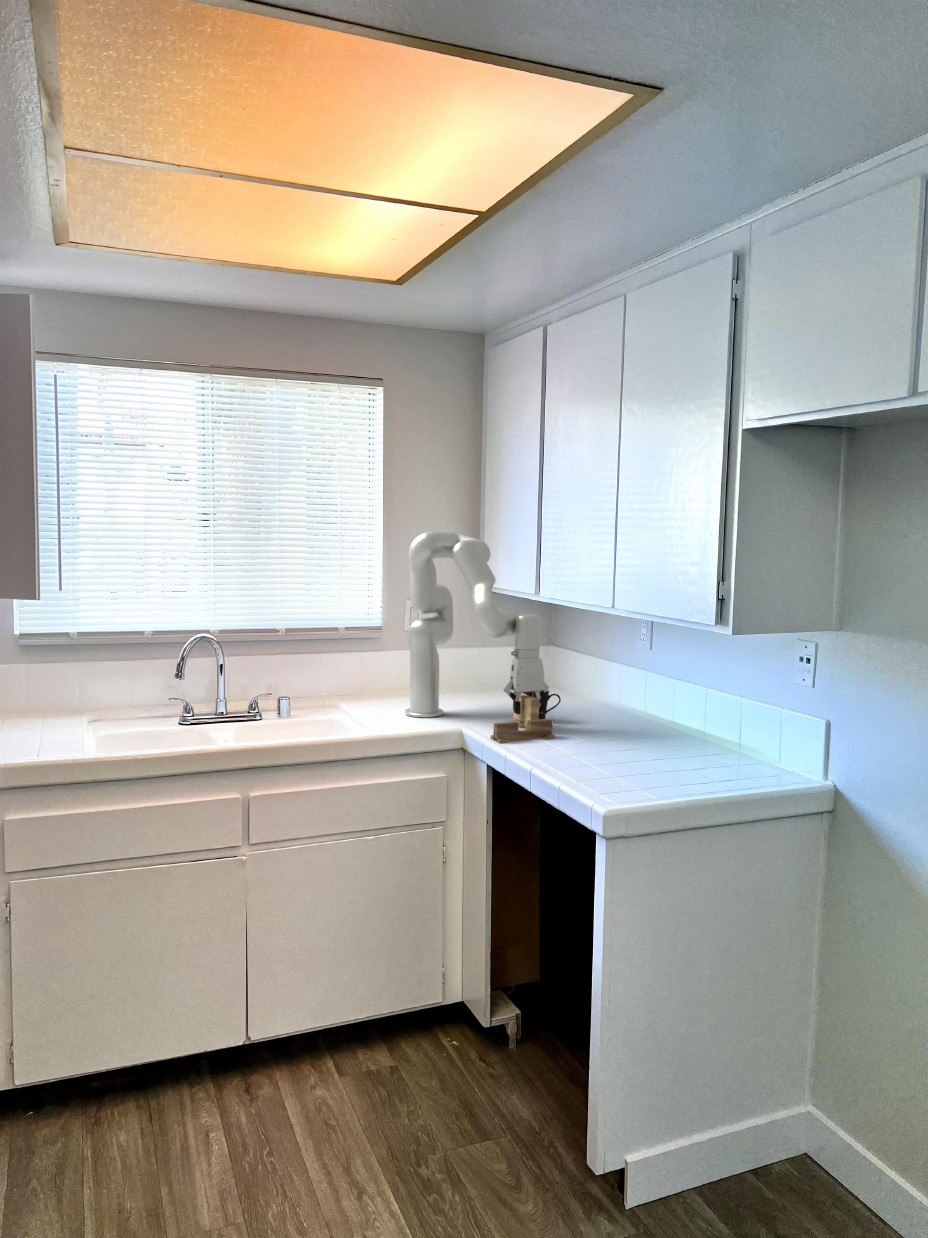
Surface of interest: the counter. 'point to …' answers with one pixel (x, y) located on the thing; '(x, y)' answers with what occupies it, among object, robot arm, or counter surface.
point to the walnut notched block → (512, 732)
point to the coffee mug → (544, 703)
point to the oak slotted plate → (527, 710)
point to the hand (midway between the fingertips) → (525, 712)
